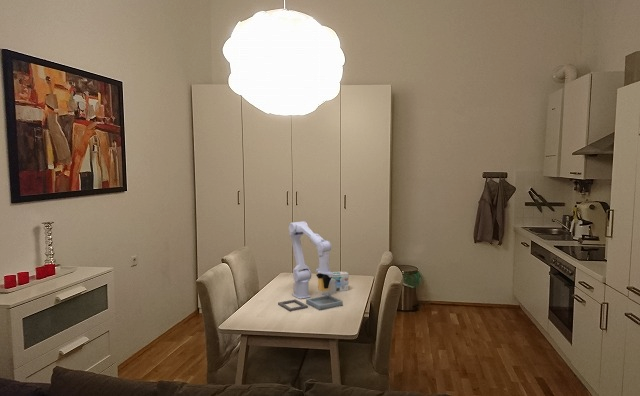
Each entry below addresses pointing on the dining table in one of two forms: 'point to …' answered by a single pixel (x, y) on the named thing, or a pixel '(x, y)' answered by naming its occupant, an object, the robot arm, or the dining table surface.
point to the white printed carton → (341, 280)
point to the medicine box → (331, 287)
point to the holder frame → (302, 306)
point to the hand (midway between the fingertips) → (324, 287)
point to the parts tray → (324, 302)
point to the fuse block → (322, 286)
